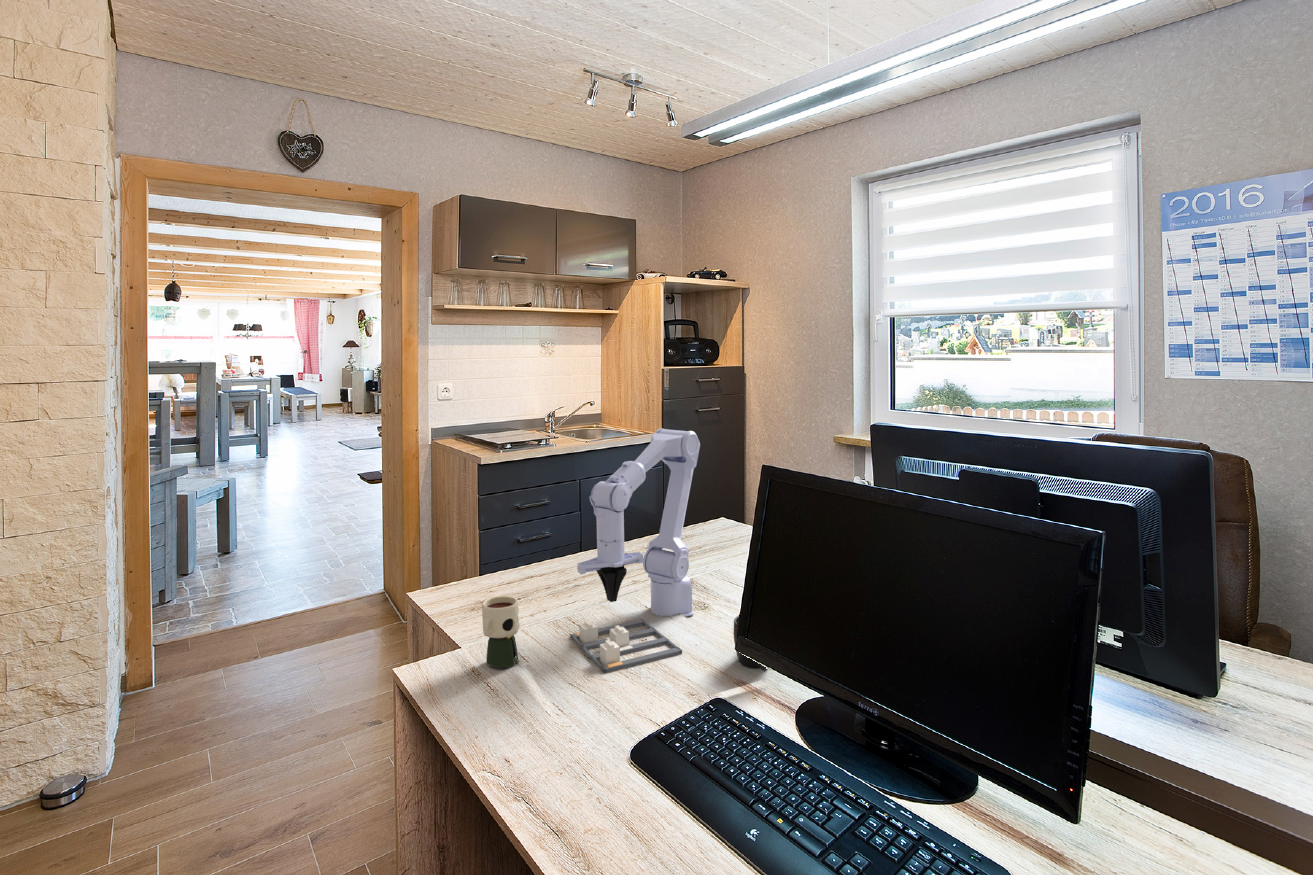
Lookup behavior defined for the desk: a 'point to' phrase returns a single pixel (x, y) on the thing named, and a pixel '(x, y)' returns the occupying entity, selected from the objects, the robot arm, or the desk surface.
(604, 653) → the tab
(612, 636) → the tab
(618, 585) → the robot arm
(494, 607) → the character mug
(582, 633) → the tab
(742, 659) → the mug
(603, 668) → the switch bank
